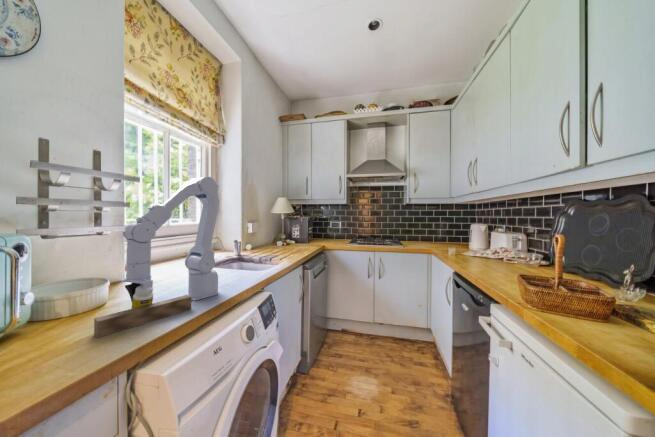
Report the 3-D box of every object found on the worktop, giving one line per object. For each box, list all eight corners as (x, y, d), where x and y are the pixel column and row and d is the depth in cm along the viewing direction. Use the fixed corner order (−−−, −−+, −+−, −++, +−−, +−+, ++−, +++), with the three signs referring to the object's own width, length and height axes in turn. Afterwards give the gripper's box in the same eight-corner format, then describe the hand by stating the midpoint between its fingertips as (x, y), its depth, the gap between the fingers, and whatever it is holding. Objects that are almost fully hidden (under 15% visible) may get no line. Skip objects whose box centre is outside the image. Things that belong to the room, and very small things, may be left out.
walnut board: (186, 307, 77) (186, 294, 77) (191, 309, 76) (191, 296, 76) (94, 334, 59) (94, 318, 59) (97, 337, 57) (97, 321, 57)
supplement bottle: (138, 321, 67) (141, 294, 66) (126, 314, 68) (129, 288, 67) (154, 312, 72) (158, 288, 70) (143, 306, 73) (146, 282, 71)
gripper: (113, 261, 72) (112, 305, 72) (131, 268, 64) (130, 318, 64) (141, 258, 78) (140, 299, 78) (161, 264, 70) (160, 309, 70)
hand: (138, 307), depth 71 cm, fingers closed
